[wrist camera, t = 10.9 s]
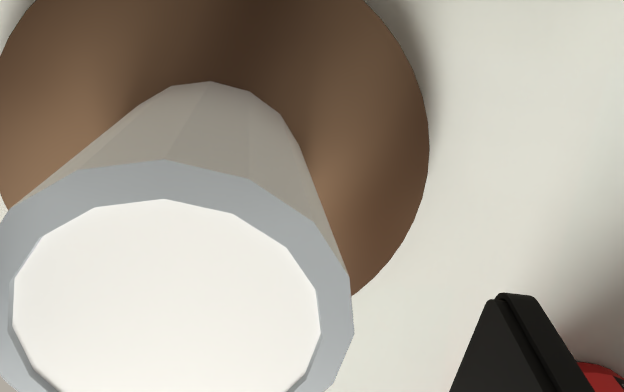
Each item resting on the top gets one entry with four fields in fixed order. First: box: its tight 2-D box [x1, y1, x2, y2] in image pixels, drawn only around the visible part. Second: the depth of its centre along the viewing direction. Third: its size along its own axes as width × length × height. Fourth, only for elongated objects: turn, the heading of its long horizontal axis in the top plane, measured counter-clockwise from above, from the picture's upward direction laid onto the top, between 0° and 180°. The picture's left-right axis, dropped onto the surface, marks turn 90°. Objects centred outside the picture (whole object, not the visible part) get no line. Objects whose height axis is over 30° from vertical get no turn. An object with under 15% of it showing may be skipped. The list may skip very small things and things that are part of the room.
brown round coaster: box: [0, 0, 429, 296], centre depth 16 cm, size 13×13×1 cm
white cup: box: [0, 81, 354, 392], centre depth 12 cm, size 7×7×7 cm
